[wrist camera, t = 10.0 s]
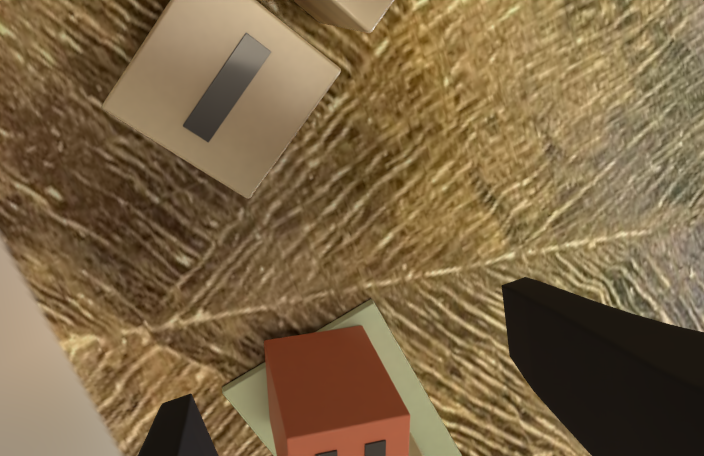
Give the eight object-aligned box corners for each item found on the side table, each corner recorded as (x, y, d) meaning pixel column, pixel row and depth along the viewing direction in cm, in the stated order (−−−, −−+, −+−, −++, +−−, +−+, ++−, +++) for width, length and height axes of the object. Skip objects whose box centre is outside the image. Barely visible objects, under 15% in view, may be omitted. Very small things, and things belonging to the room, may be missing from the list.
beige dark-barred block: (232, 148, 19) (249, 201, 14) (123, 76, 17) (99, 109, 12) (301, 50, 19) (344, 71, 14) (195, -34, 17) (200, -46, 12)
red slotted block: (362, 403, 24) (408, 508, 19) (269, 421, 23) (292, 536, 18) (362, 324, 23) (411, 416, 18) (263, 339, 22) (286, 441, 17)
